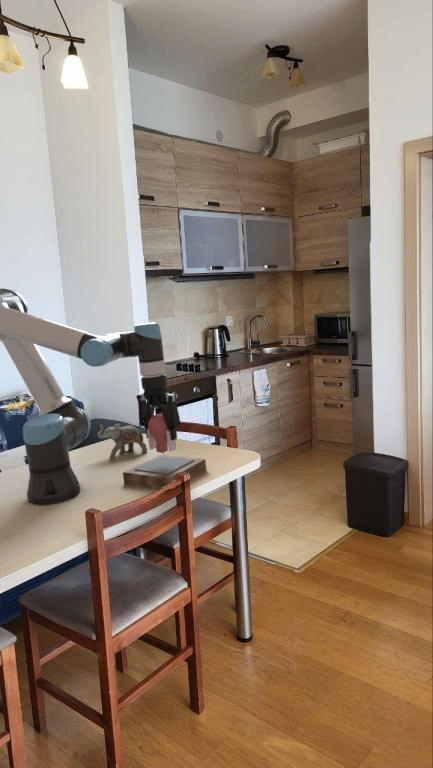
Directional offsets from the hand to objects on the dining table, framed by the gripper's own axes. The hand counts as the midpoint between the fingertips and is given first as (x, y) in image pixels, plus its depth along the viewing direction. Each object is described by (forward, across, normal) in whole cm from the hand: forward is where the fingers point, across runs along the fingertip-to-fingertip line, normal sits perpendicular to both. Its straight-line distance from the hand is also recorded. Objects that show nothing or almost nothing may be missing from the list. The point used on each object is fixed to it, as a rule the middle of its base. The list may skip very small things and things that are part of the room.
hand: (162, 449), depth 175 cm
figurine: (+9, +31, -15) cm, 36 cm away
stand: (+9, 0, 0) cm, 9 cm away
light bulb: (+1, 0, 0) cm, 1 cm away
